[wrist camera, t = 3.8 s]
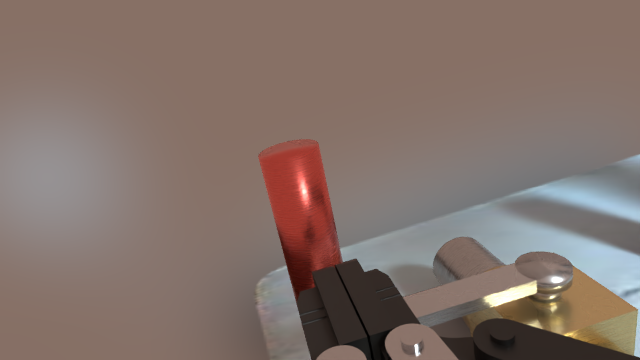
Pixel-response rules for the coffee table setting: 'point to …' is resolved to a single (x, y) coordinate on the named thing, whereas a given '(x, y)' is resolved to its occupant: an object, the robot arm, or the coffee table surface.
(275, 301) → the coffee table surface
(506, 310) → the valve body
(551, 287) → the valve lever
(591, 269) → the coffee table surface
